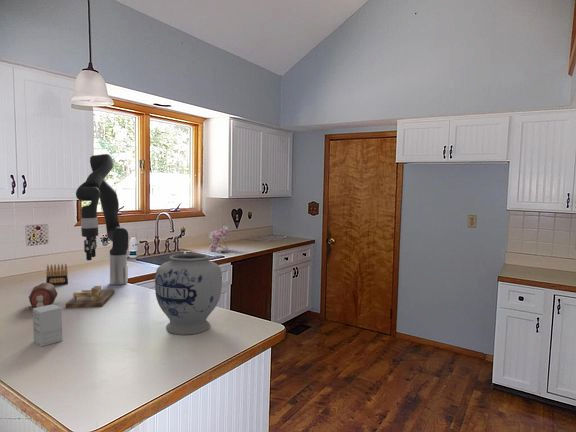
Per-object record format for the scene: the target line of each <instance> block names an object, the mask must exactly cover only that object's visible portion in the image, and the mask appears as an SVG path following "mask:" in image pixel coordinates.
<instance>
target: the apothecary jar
mask: <svg viewBox="0 0 576 432" xmlns="http://www.w3.org/2000/svg"><path fill="white" fill-rule="evenodd" d="M169 259H170V260H169V261H166V262H163V263H162V264H160V265H159V266H158V267H157V268H156V271H155V279H154V287H155V297H156V301H157V304H158V306H159V307H160V310H161V311H162V312H163V313H164V315H165V316H166V317H167V319H168V320H169V322H168V323H167V325H166V326H165V328H166V330H167V331H168V332H169V333H171V334H174V335H178V336H179V335H181V336H182V335H183V336H187V335H189V336H190V335H196V334H201V333H203V332H206V331H207V330H208V329H209V328H210V327H211V323H210V321H208V320H207V319H208V317H209V316H210V314H211V313H212V312H213V311H214V310H215V308H216V307H217V306H218V303H219V302H220V298H221V293H222V288H223V279H222V278H223V276H222V269H221V267H220V265H219V264H218V263H216V262H213V261H211V260H209V259H210V256H209V255H208V254H206V253H205V254H204V253H176V254H172V255H169Z"/></svg>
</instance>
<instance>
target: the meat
mask: <svg viewBox="0 0 576 432" xmlns="http://www.w3.org/2000/svg"><path fill="white" fill-rule="evenodd" d="M57 296H58V292H57V289H56V286H55V285H52V284H50V283H46V282H42V283H39V284H38V285H36V286H34V287H32V290H31V292H30V294H29V296H28V299H29V303H30V305H31V308H32V309H33V308H37V307H42V306H47V305H52V304H54V302H55V300H56V299H57Z"/></svg>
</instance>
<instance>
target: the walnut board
mask: <svg viewBox="0 0 576 432" xmlns="http://www.w3.org/2000/svg"><path fill="white" fill-rule="evenodd" d="M115 291H116V289H101V298H100V299H99V300H98V301H91V297H77V300H75V297H72V298H71V299H69V300H68V301H67V302H65V305H64V306H65V309H73V308H74V309H76V308H79V309H80V308H102V307H104V306H105V304H106V303H107V302H108V301H109V300H110V299H111V298H112V297H113V296H114V295H115ZM80 292H91V289H86V290H85V289H82V290H81V291H80Z"/></svg>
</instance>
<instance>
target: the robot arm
mask: <svg viewBox="0 0 576 432" xmlns="http://www.w3.org/2000/svg"><path fill="white" fill-rule="evenodd" d="M89 163H90V167H91V170H92V171H91V172H90V173H89V175H88V176H87V178H86V180H85V182H83V183H82V184H80V185H79V186H78V187H77V189H76V191H75V196H76V199H77V200H79V201H80V202H81V201H82V202H90V204H87V205H83V206H82V207H81V208H80V215H81V219H80V220H81V222H80V226H81V228H80V229H81V230H80V231H81V237H83V238H85V239H83V240H84V241H83V244H84V245H83V249H84V251H83V252H84V253H85V257H86V261H92V260H93V259H92V258H95V257H96V253H97V252H96V249H97V247H98V245H97V237H98V236H99V221H98V204H99V202H100V205H101V209H102V213H103V216H104V220H105V226H106V228H105V229H106V234H107V235H106V236H107V239H108V240H109V241H110V242H112V248H111V249H110V250H109V285H112V286H119V285H121V286H122V285H127V283H128V282H129V281H128V279H129V275H128V274H129V271H128V270H129V266H128V263H127V262H128V257H127V256H128V248H129V232H128V230H127V229H126V228H124V227H121V225H120V222H119V217H118V216H119V206H120V203H119V198H118V194H117V192H116V190H115V189H114V188H113V187H112V185H110V183H109V182H107V181H106V180H105V178H106V177H107V176H108V175H109V173H110V172H111V171H112V170H113V167H114V160H113V157H112V155H110V154H107V153H106V154H105V153H104V154H103V153H102V154H97V155H96V154H95V155H91V156H90V157H89Z"/></svg>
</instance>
